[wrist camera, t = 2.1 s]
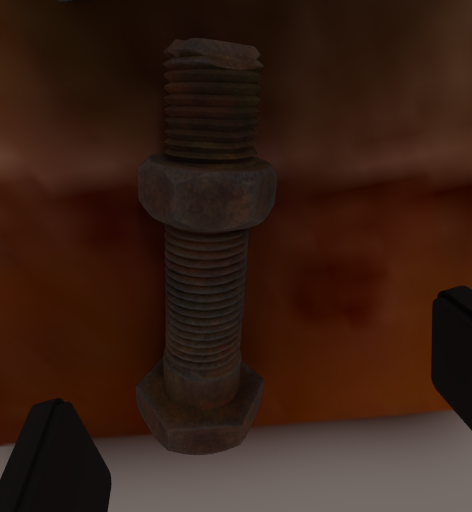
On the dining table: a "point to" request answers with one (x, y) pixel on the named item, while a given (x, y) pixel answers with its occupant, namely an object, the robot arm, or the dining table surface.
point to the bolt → (206, 245)
